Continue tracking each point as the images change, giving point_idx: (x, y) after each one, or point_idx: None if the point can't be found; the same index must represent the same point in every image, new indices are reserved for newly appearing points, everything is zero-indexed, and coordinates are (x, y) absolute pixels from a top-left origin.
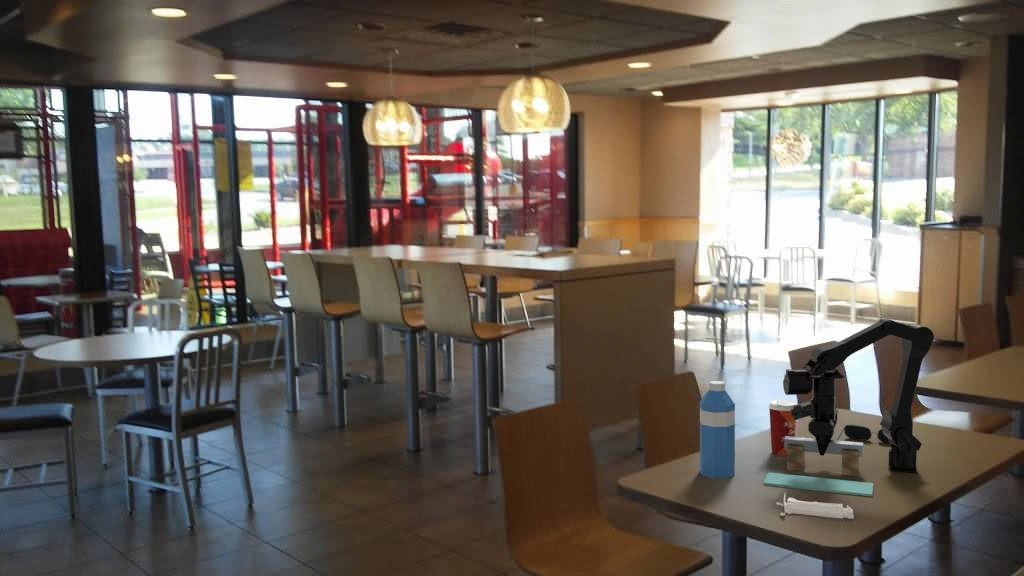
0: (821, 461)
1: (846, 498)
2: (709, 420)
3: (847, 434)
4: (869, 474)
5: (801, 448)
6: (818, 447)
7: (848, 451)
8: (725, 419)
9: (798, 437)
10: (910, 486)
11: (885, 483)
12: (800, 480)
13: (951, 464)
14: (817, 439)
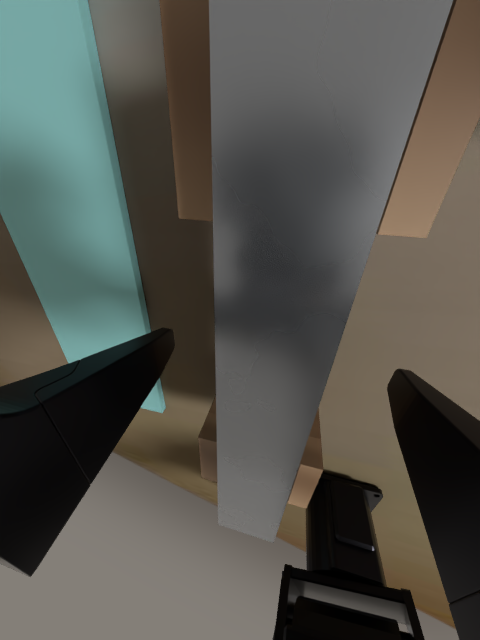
0: (430, 303)
1: (38, 338)
2: None
3: None
4: None
5: (184, 205)
6: (113, 350)
7: (200, 455)
8: None
9: (384, 136)
10: (195, 462)
11: (195, 432)
12: (60, 205)
13: (384, 560)
14: (23, 392)
